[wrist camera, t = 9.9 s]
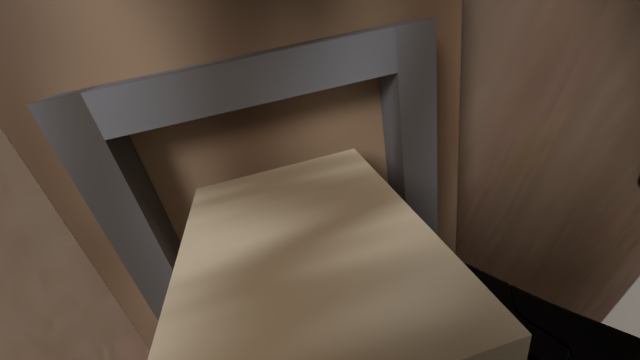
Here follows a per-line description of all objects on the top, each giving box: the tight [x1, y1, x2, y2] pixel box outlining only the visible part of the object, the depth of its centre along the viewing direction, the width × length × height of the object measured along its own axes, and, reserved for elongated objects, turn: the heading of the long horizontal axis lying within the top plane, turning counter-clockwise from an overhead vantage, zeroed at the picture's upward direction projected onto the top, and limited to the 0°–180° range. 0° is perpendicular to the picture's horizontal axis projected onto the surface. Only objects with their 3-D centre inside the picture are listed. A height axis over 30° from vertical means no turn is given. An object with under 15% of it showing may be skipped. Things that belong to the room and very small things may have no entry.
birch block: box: [148, 149, 532, 360], centre depth 8 cm, size 5×5×7 cm
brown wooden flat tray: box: [0, 0, 462, 350], centre depth 12 cm, size 14×16×4 cm
